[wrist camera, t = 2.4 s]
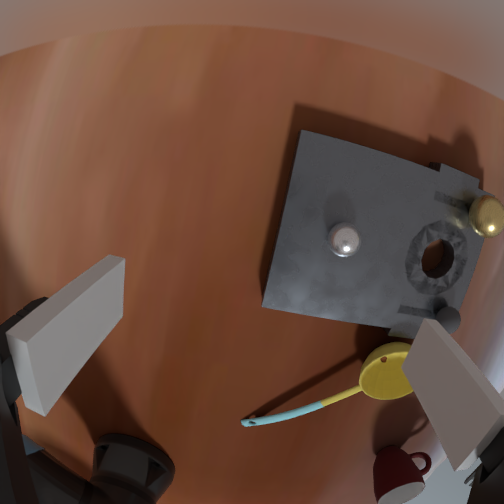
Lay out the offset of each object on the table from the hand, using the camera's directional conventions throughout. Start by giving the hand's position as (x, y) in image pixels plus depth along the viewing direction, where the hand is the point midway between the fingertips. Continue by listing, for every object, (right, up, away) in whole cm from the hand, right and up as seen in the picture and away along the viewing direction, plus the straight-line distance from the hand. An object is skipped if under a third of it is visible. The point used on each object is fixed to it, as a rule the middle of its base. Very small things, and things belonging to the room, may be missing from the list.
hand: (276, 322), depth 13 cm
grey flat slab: (+14, +4, +20) cm, 25 cm away
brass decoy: (+24, +7, +14) cm, 29 cm away
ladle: (+9, -15, +27) cm, 32 cm away
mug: (+24, -31, +31) cm, 50 cm away
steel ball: (+8, +4, +16) cm, 18 cm away
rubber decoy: (+22, -5, +18) cm, 29 cm away
